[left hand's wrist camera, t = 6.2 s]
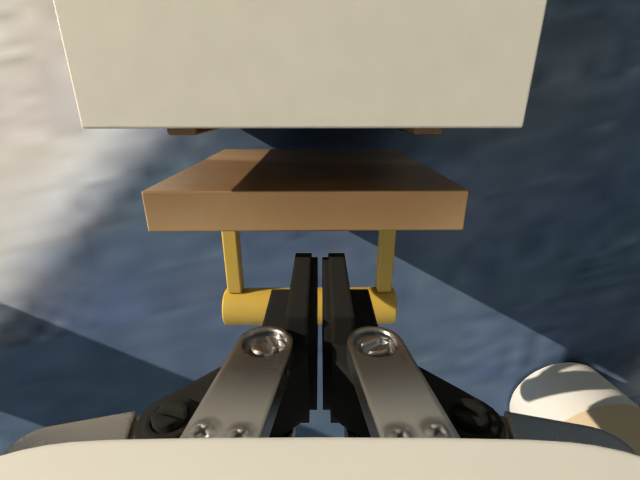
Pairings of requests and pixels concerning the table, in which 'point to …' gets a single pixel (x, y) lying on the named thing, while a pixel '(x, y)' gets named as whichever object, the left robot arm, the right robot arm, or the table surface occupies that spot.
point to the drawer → (305, 207)
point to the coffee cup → (578, 401)
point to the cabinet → (301, 62)
